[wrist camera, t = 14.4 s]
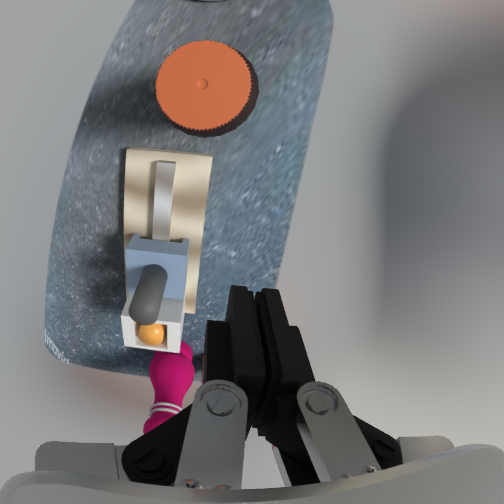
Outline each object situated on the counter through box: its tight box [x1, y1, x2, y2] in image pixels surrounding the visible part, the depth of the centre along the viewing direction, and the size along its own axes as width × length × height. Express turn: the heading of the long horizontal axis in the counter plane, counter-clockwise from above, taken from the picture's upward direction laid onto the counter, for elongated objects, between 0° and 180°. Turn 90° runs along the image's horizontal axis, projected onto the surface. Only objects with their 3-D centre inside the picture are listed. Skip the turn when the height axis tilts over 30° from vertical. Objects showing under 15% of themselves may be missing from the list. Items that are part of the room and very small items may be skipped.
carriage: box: [126, 233, 190, 325], centre depth 33 cm, size 6×7×11 cm
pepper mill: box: [143, 341, 195, 434], centre depth 39 cm, size 7×7×20 cm
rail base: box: [124, 147, 213, 314], centre depth 37 cm, size 22×10×3 cm, turn 170°
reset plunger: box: [138, 323, 165, 345], centre depth 35 cm, size 3×3×4 cm
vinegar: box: [154, 40, 259, 138], centre depth 22 cm, size 7×7×20 cm
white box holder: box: [121, 286, 186, 353], centre depth 37 cm, size 5×7×8 cm
